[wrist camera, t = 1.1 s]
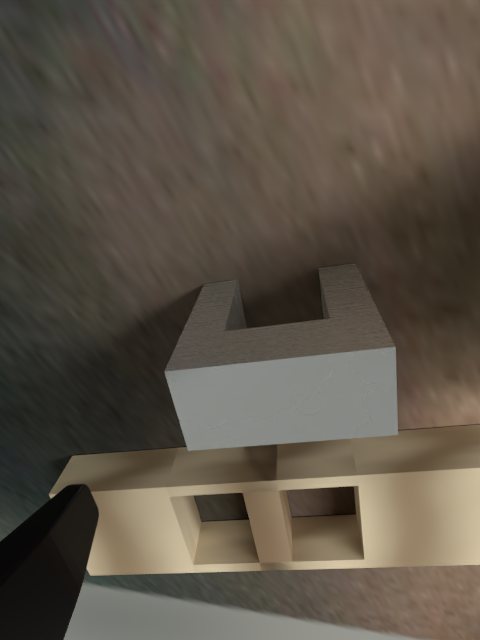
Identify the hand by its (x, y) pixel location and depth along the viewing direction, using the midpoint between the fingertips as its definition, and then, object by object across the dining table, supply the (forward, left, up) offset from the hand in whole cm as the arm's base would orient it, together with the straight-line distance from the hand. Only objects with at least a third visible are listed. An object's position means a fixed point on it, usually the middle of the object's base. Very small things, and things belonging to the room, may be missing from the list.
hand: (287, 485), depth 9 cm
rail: (+2, +10, -9) cm, 14 cm away
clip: (0, 0, -9) cm, 9 cm away
